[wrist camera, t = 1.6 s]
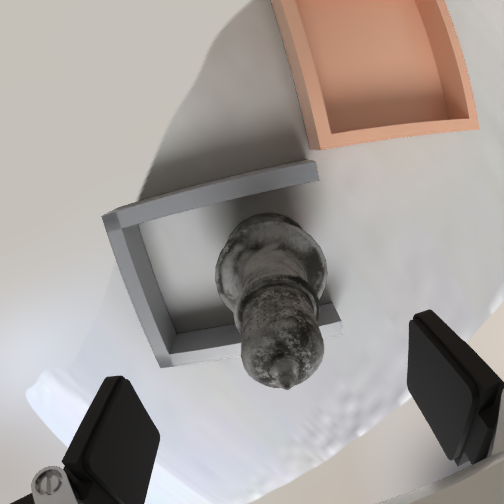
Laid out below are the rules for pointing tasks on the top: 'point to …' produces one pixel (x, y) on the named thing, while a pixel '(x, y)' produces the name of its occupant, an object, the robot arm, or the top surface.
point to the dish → (375, 69)
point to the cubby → (143, 279)
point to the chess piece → (274, 298)
